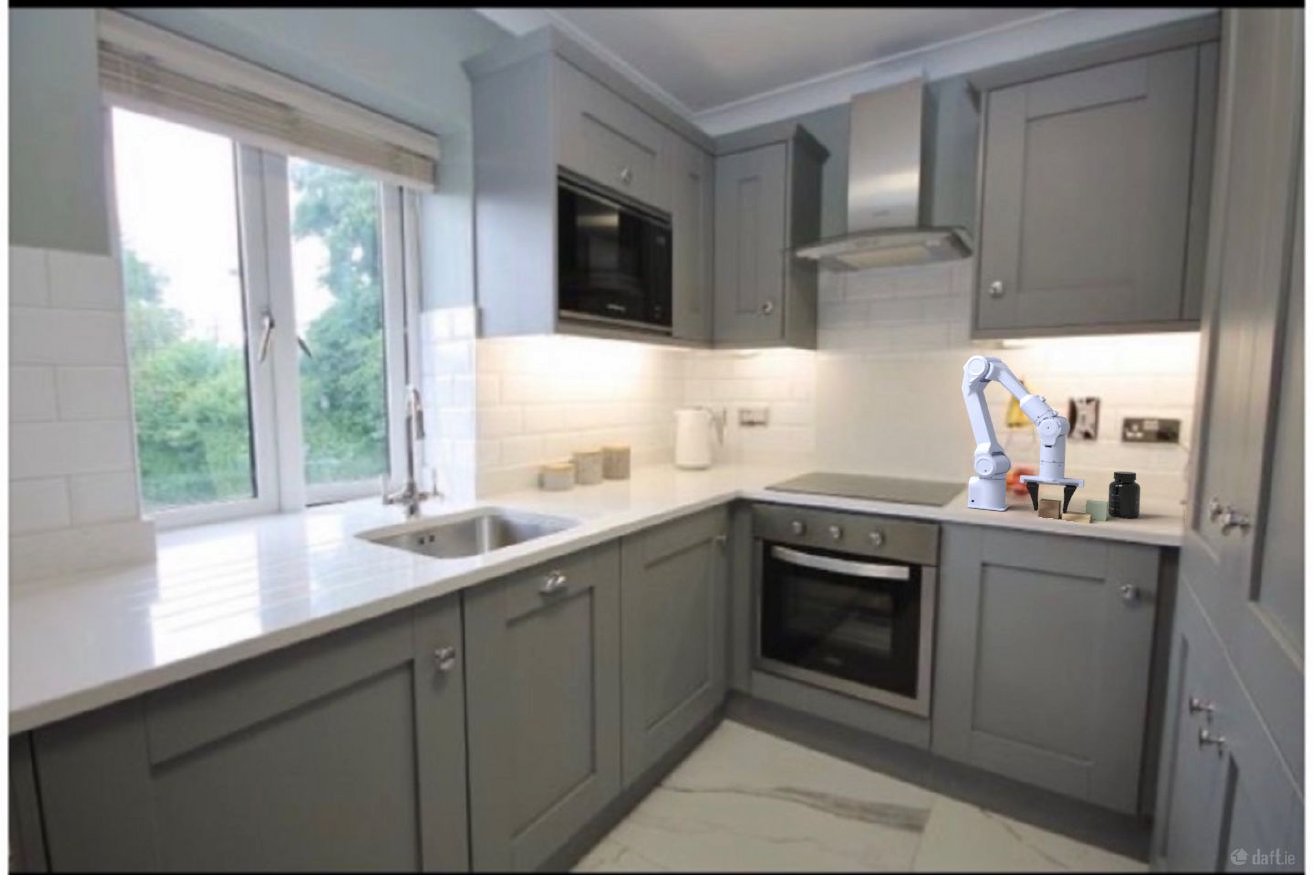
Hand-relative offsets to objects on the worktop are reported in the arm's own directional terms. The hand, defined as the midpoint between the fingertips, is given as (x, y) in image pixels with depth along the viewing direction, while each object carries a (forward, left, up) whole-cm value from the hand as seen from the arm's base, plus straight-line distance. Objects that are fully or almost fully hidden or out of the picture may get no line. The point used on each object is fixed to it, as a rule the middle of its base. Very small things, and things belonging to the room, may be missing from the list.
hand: (1050, 511), depth 169 cm
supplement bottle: (+15, +12, -2) cm, 20 cm away
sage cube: (+10, +6, -2) cm, 11 cm away
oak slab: (+6, 0, -2) cm, 6 cm away
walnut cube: (0, 0, -2) cm, 2 cm away
